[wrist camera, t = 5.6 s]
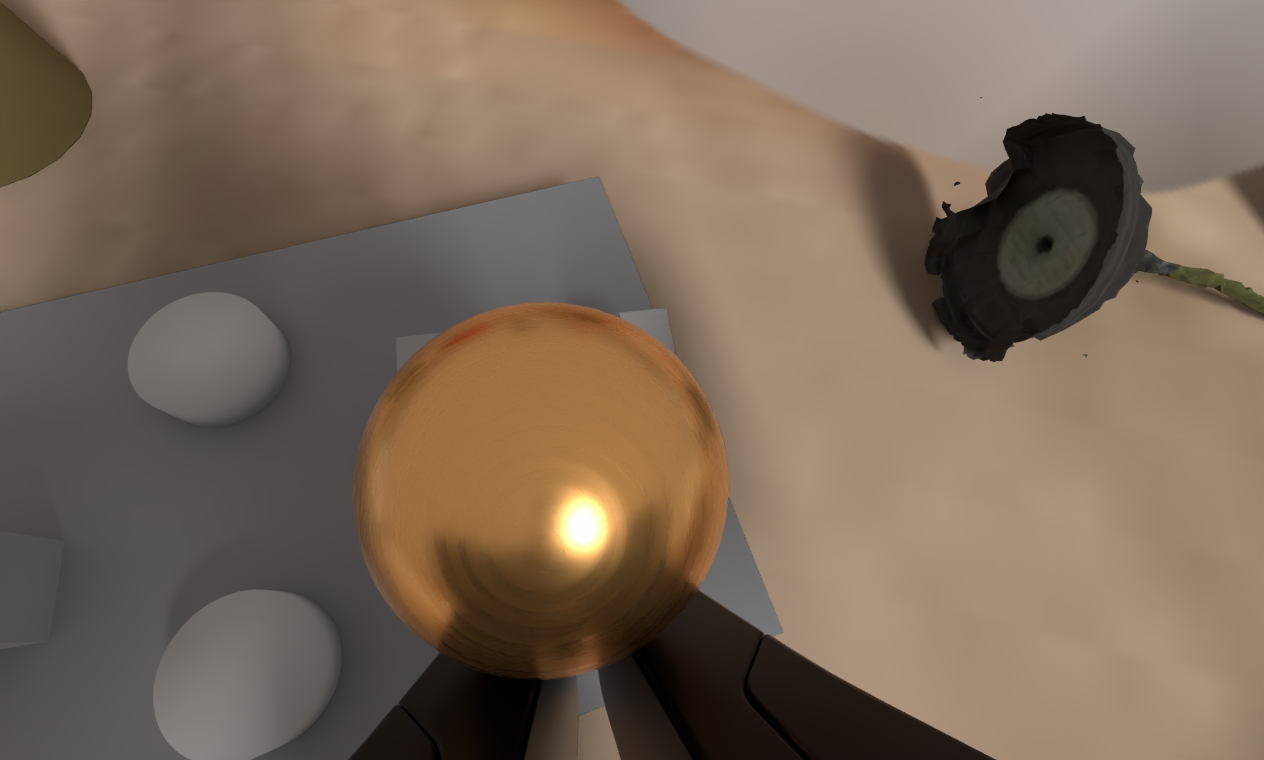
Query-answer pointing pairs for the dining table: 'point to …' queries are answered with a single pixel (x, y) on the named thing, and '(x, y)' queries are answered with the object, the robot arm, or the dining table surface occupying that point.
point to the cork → (36, 101)
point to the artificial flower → (1050, 239)
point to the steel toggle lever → (540, 490)
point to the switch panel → (252, 483)
